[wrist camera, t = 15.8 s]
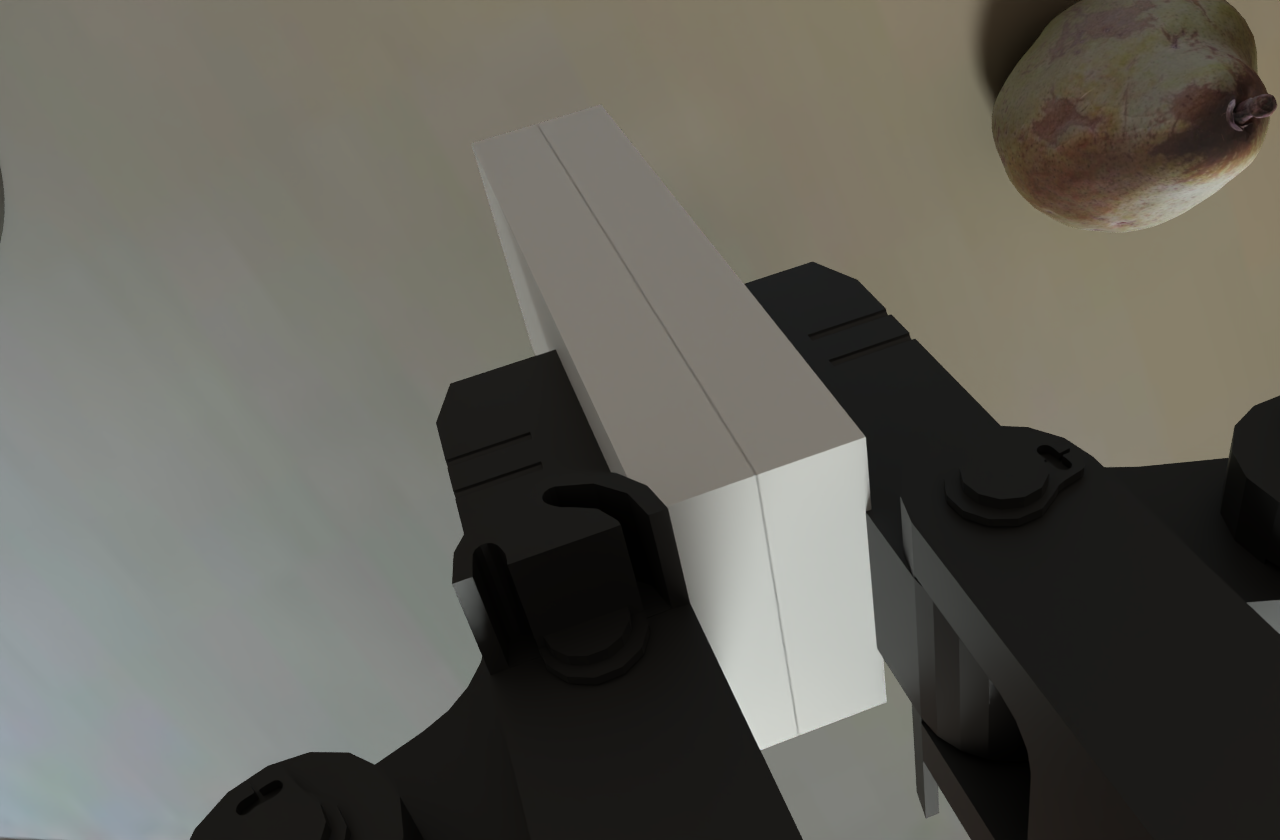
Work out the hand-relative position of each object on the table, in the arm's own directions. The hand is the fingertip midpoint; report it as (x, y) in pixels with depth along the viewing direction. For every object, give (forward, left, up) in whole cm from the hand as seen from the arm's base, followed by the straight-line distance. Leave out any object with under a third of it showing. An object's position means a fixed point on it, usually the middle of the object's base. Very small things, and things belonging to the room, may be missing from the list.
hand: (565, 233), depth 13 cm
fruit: (+27, -15, -30) cm, 43 cm away
